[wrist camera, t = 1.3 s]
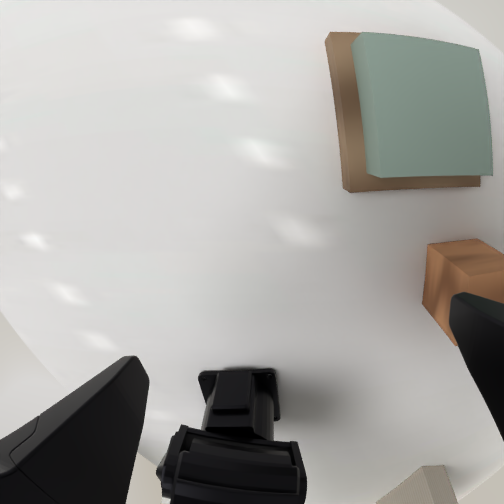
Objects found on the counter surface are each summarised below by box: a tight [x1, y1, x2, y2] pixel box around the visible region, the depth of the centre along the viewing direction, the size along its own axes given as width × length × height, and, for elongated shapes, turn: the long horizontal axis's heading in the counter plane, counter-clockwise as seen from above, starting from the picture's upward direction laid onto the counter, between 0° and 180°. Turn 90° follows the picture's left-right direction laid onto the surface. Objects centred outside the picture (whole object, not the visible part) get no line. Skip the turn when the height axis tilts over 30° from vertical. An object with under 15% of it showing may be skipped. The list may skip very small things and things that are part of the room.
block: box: [422, 239, 504, 346], centre depth 18 cm, size 5×5×6 cm
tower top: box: [351, 32, 493, 178], centre depth 14 cm, size 8×8×2 cm
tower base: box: [325, 32, 480, 193], centre depth 17 cm, size 10×10×2 cm
